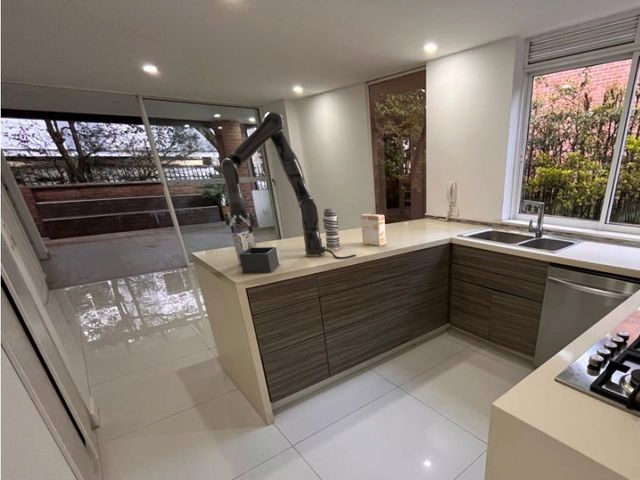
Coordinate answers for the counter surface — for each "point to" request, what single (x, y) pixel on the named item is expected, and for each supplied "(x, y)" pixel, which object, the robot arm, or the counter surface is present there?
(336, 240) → the decorative candle
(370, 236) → the coffeecake box
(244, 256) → the bin
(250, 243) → the candy bar box
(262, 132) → the robot arm
